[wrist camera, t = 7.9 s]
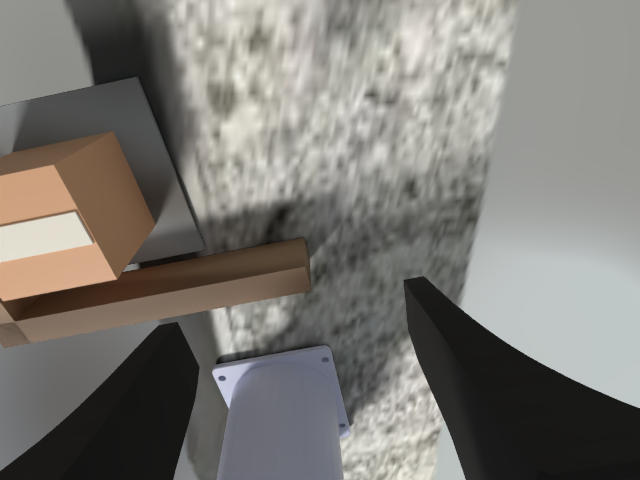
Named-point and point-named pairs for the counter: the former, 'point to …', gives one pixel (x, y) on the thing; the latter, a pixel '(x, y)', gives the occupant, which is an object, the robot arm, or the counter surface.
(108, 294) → the corner frame
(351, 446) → the counter surface
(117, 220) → the cube
